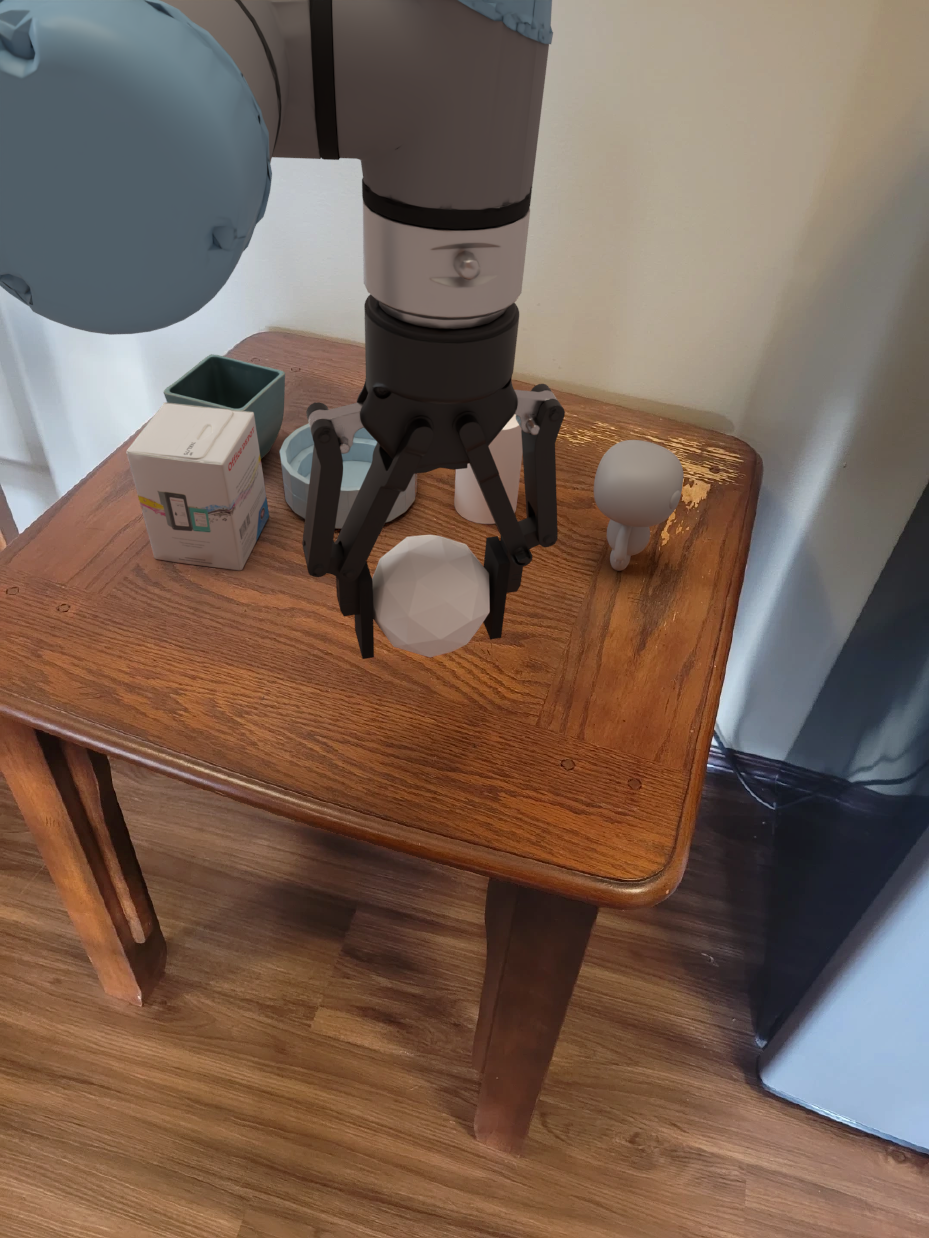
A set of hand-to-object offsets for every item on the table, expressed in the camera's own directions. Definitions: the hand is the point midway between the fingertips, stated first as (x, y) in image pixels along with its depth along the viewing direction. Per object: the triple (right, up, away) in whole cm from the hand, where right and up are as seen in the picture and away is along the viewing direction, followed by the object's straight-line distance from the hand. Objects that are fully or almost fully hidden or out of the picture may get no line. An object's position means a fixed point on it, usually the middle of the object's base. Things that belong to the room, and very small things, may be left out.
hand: (428, 633), depth 56 cm
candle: (+4, +12, +30) cm, 32 cm away
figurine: (+17, +6, +24) cm, 30 cm away
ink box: (-21, +8, +24) cm, 33 cm away
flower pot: (-22, +18, +33) cm, 44 cm away
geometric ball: (0, 0, 0) cm, 1 cm away
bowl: (-9, +14, +30) cm, 34 cm away
